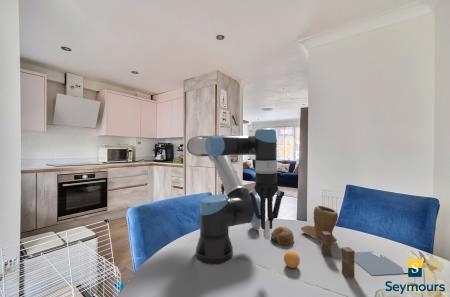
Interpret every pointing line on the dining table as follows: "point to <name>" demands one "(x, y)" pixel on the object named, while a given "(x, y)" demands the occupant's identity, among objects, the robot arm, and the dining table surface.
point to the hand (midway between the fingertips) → (266, 237)
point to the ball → (291, 259)
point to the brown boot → (322, 223)
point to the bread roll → (282, 236)
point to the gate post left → (327, 244)
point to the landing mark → (377, 264)
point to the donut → (256, 224)
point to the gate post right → (348, 262)
